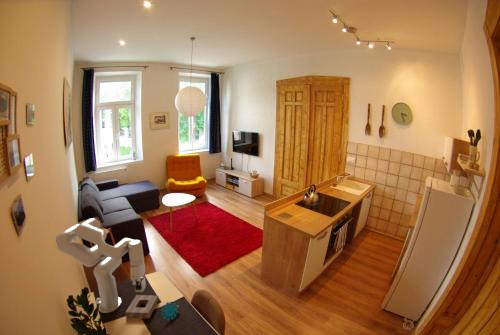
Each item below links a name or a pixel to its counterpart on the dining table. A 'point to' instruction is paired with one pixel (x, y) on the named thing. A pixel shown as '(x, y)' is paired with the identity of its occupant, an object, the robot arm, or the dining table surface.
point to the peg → (143, 284)
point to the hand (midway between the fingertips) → (140, 286)
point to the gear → (170, 310)
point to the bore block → (138, 312)
